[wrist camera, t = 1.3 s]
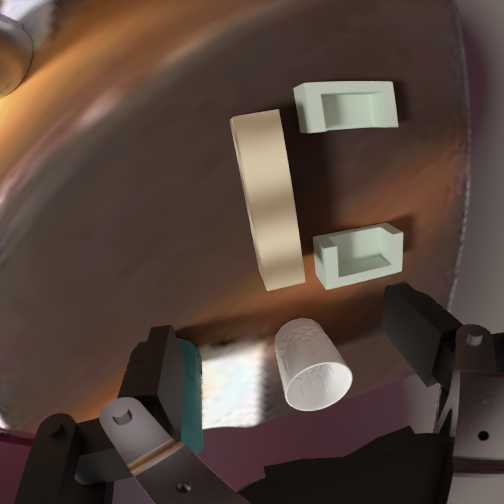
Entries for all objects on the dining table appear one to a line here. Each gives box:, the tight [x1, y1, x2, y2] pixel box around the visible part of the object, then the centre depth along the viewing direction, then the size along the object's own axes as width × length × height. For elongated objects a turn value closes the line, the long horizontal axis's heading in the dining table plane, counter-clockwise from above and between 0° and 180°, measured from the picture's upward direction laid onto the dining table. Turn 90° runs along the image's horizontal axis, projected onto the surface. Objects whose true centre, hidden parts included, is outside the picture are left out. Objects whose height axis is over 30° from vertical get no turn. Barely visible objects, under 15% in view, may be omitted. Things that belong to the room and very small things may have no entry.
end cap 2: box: [313, 223, 403, 290], centre depth 36 cm, size 5×10×4 cm, turn 99°
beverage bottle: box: [177, 338, 203, 455], centre depth 31 cm, size 6×7×20 cm
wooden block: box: [230, 109, 305, 291], centre depth 31 cm, size 17×4×6 cm, turn 10°
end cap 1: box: [294, 81, 398, 133], centre depth 30 cm, size 5×10×4 cm, turn 99°
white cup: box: [274, 318, 352, 411], centre depth 37 cm, size 8×8×10 cm
